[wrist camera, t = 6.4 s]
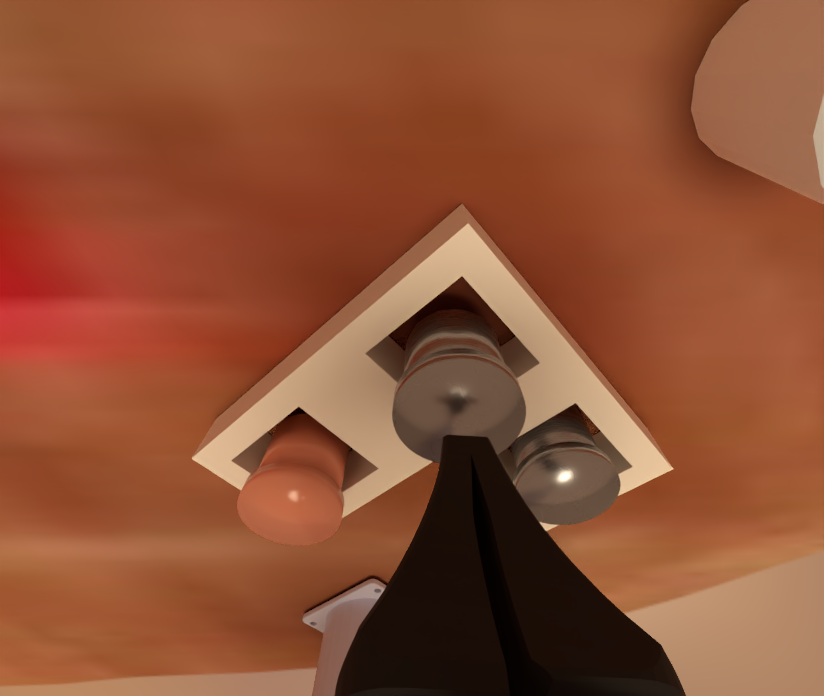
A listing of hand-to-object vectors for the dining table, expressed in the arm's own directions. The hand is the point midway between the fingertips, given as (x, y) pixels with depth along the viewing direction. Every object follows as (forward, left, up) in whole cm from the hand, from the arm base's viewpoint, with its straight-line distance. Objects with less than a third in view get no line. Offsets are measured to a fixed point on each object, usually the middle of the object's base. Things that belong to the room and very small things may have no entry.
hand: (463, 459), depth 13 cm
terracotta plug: (0, +10, -7) cm, 12 cm away
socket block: (-4, +5, -9) cm, 11 cm away
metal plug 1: (0, 0, -6) cm, 6 cm away
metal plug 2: (-8, 0, -8) cm, 12 cm away
